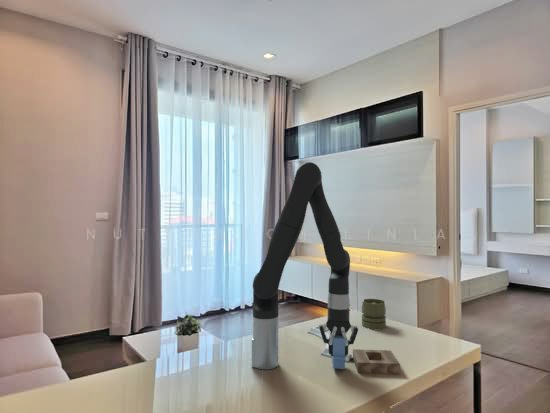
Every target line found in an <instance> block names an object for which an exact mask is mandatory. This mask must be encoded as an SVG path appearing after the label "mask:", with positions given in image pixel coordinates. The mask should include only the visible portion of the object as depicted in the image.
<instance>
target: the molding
mask: <svg viewBox="0 0 550 413" xmlns="http://www.w3.org/2000/svg"><path fill="white" fill-rule="evenodd" d="M320 324H321V325H324V324H326V323H325V322H323V323H320ZM320 324H317V325H316V326H313V327H311V328H310V329H309V330H307V334H311V335H314V336H316V337H317V338H320V339H321V340H322V341H323V338H322V335H321V332H320V329H319V325H320ZM327 331H329V329H328V328H327V327H326V331H324V332H325V335H326V338H327V339H329V337H330V333H328V332H327ZM325 344H326V345H325V348H324V349H323V350H322V351H321V352H320V356H321V355H322V356H324V357H328V358H331V359H332V356H331V354H329V345H328V344H327V343H325ZM345 358H346V360H345V363H349V362H350V361H351V360H353V354H351V353H348V355H346V357H345Z"/></svg>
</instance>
